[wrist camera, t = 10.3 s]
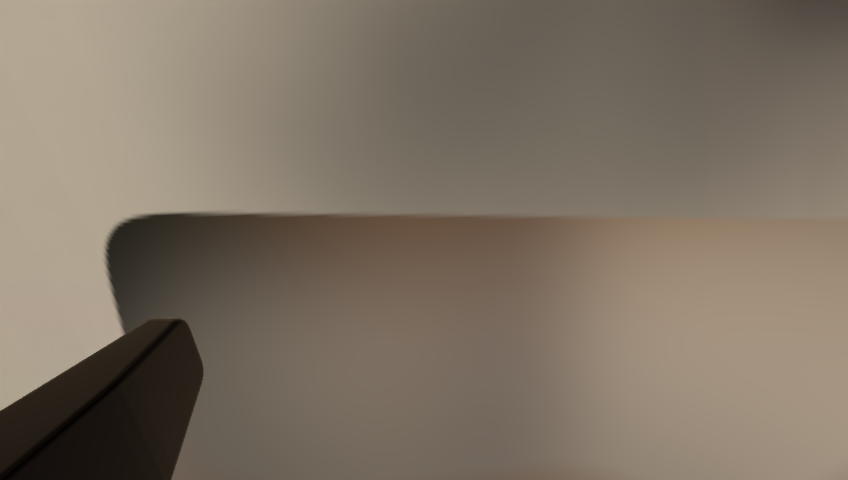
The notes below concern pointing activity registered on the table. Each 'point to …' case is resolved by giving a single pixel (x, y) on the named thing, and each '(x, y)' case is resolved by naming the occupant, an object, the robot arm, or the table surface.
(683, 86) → the table surface
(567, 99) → the table surface
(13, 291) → the table surface
